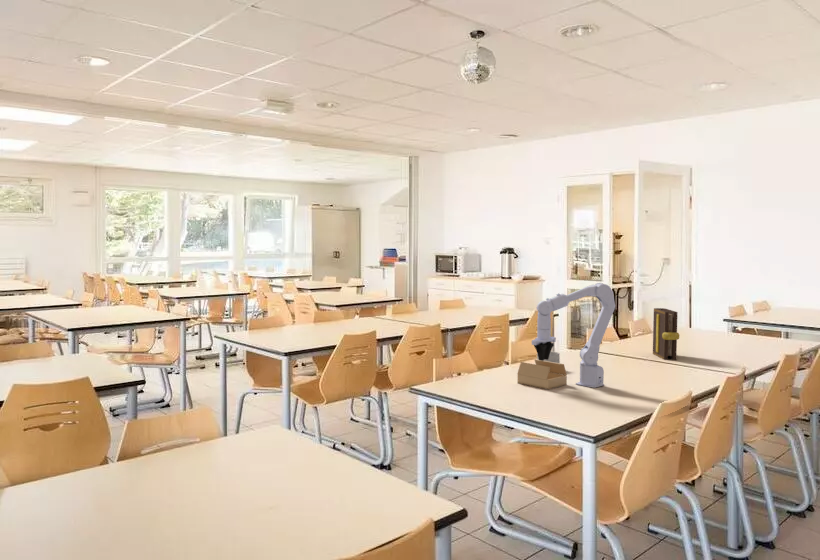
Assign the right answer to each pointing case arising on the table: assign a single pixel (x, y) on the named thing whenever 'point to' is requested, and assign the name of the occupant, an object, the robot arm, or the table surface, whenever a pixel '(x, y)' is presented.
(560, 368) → the flap right
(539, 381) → the carton
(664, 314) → the book
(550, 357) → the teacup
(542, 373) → the flap left
